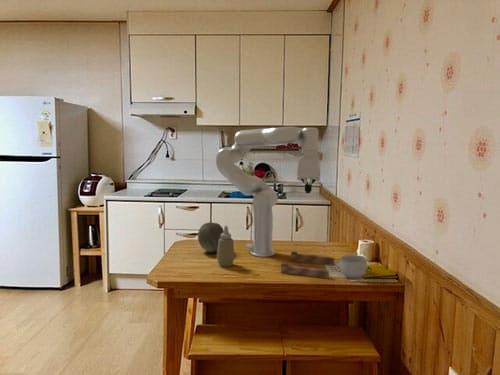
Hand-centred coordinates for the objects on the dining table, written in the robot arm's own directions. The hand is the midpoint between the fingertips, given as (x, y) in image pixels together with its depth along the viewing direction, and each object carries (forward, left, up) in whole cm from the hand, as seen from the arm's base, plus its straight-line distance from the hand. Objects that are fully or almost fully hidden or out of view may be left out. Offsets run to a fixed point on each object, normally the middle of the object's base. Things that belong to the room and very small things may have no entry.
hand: (308, 192), depth 184 cm
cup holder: (+4, -14, -32) cm, 35 cm away
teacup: (+24, -16, -32) cm, 43 cm away
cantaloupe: (-47, -7, -32) cm, 57 cm away
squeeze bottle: (-32, -24, -32) cm, 51 cm away
